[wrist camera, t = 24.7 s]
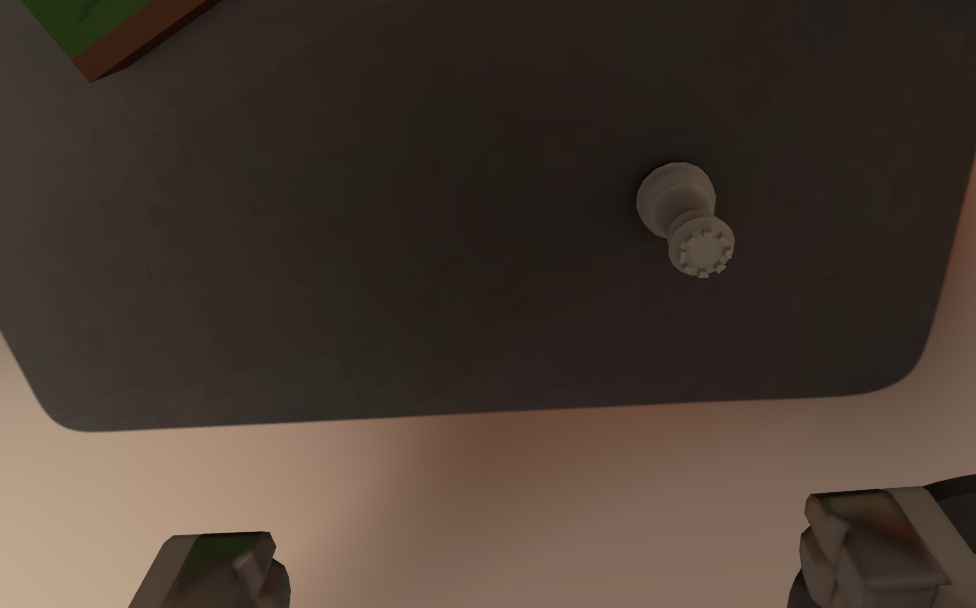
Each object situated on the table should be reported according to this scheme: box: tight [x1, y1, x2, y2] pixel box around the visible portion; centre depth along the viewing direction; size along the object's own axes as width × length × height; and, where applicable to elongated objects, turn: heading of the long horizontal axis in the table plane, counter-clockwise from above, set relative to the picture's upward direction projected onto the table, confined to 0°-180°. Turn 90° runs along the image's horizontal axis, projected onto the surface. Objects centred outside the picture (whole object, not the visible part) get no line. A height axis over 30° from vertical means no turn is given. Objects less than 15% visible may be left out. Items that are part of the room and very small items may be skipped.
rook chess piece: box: [636, 162, 735, 278], centre depth 37 cm, size 4×4×8 cm
